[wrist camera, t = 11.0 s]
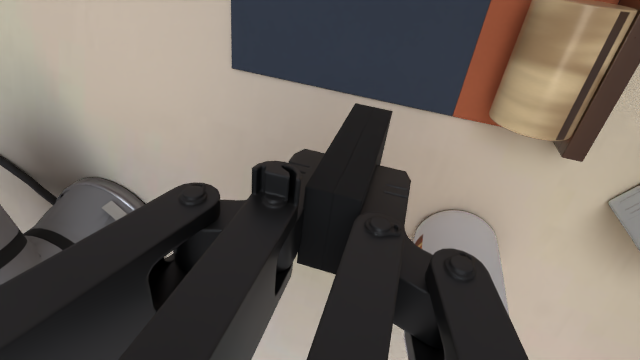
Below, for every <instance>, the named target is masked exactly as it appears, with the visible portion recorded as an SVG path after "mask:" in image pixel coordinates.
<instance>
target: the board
mask: <svg viewBox="0 0 640 360" xmlns="http://www.w3.org/2000/svg"><path fill="white" fill-rule="evenodd" d="M531 1H532V0H231V38H232V68H233V69H238V70H243V71H247V72H252V73H256V74H261V75H266V76H270V77H275V78H279V79H284V80H289V81H293V82H298V83H302V84H307V85H312V86H316V87H321V88H325V89H330V90H335V91H339V92H344V93H348V94H353V95H357V96H362V97H367V98H371V99H376V100H380V101H385V102H390V103H394V104H399V105H403V106H408V107H413V108H417V109H422V110H426V111H431V112H436V113H440V114H445V115H449V116H454V117H459V118H463V119H468V120H472V121H477V122H482V123H486V124H491V125H495V126H500V125H499V124H497V123H496V122H494V121H493V120H492V119H491V118H490V116H489V111H490V108H491V106H492V103H493V101H494V98H495V95H496V93H497V90H498V88H499V85H500V82H501V80H502V77H503V75H504V72H505V69H506V67H507V64H508V61H509V59H510V56H511V54H512V51H513V48H514V46H515V43H516V41H517V38H518V35H519V33H520V30H521V28H522V25H523V22H524V20H525V17H526V15H527V12H528V9H529V7H530V4H531ZM594 1H600V2H606V3H611V4H616V5H621V6H626V7H630V8H634V9H636V10H637V13H636V15H635V17H634V19H633V21H632V23H631V25H630V26H629V28H628V30H627V32H626V34H625V36H624V38H623V40H622V42H621V43H620V45H619V47H618V49H617V51H616V53H615V55H614V57H613V59H612V60H611V62H610V64H609V66H608V68H607V70H606V72H605V74H604V75H603V77H602V79H601V81H600V83H599V85H598V87H597V89H596V91H595V92H594V94H593V96H592V98H591V100H590V102H589V104H588V106H587V108H586V109H585V111H584V113H583V115H582V117H581V119H580V121H579V123H578V124H577V126H576V128H575V130H574V132H573V134H572V136H571V137H570V138H569V139H567V140H563V141H553V142H554V144H555V146H556V148H557V149H558V151H559V153H560V155H561V157H563V158H567V159H572V160H576V161H581V162H582V161H583V160H584V158H585V156H586V155H587V153H588V151H589V150H590V148H591V146H592V144H593V143H594V141H595V139H596V137H597V136H598V134H599V132H600V131H601V129H602V127H603V125H604V124H605V122H606V120H607V118H608V117H609V115H610V113H611V112H612V110H613V108H614V106H615V105H616V103H617V101H618V99H619V98H620V96H621V94H622V93H623V91H624V89H625V87H626V86H627V84H628V82H629V80H630V79H631V77H632V75H633V74H634V72H635V70H636V68H637V67H638V65H639V63H640V0H594ZM500 127H502V126H500Z"/></svg>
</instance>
